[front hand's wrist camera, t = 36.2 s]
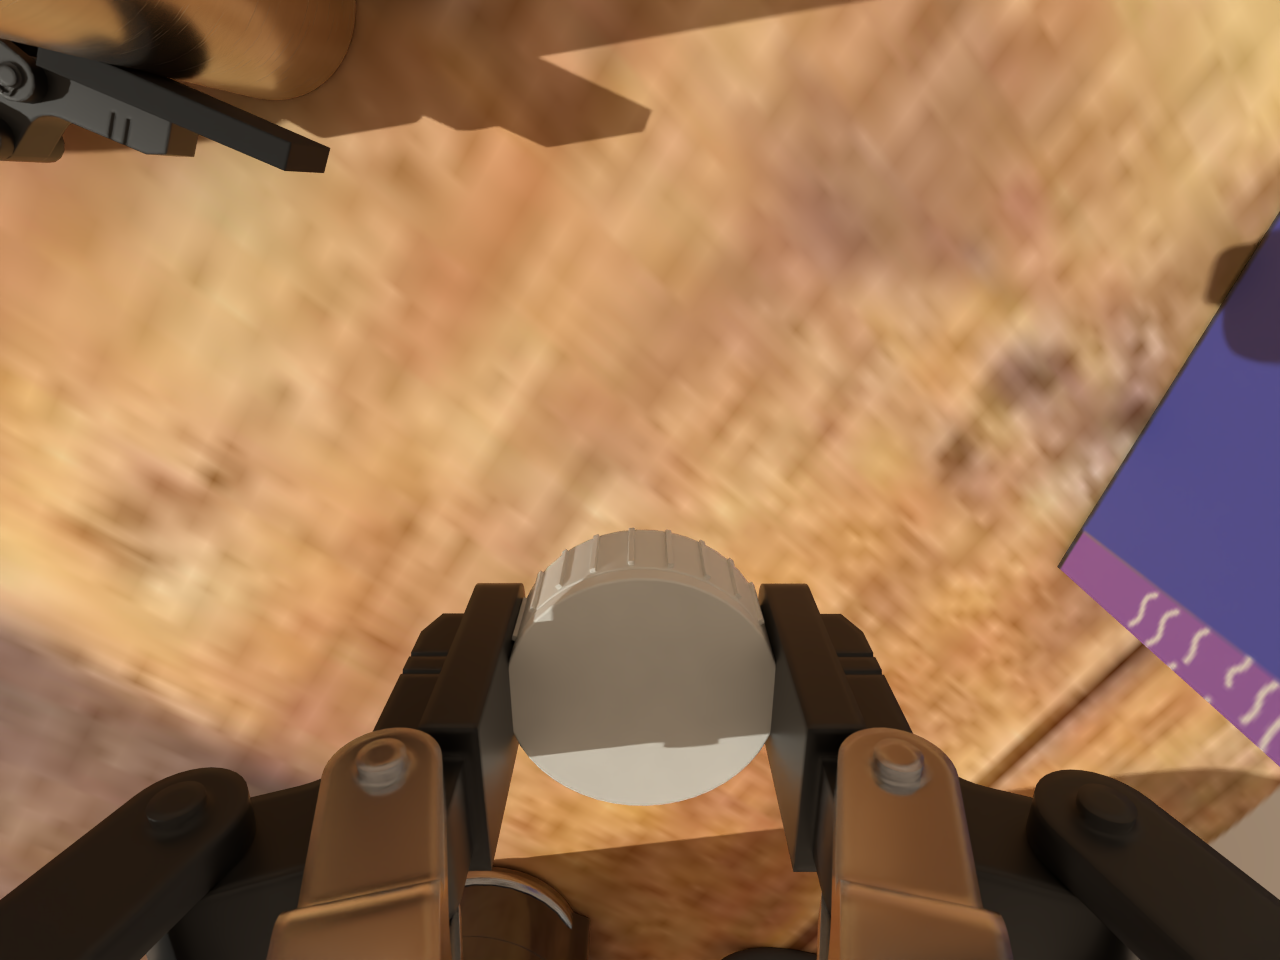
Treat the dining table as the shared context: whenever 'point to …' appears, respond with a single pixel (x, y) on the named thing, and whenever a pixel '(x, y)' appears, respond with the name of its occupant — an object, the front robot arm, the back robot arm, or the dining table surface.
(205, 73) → the bottle
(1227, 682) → the cereal box
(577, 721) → the cap
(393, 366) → the dining table surface
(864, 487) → the dining table surface
